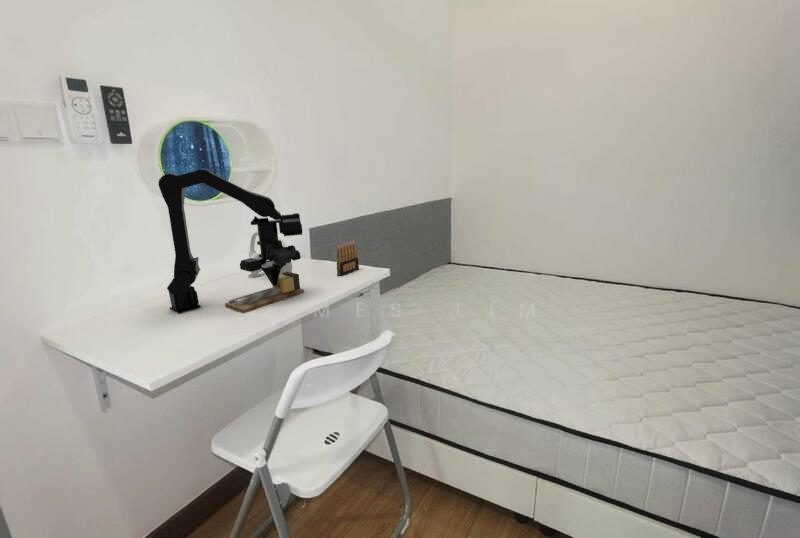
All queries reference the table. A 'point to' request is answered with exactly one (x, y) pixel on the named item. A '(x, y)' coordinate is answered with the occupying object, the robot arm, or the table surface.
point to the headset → (256, 256)
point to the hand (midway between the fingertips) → (274, 285)
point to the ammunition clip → (347, 259)
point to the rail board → (264, 301)
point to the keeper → (285, 283)
